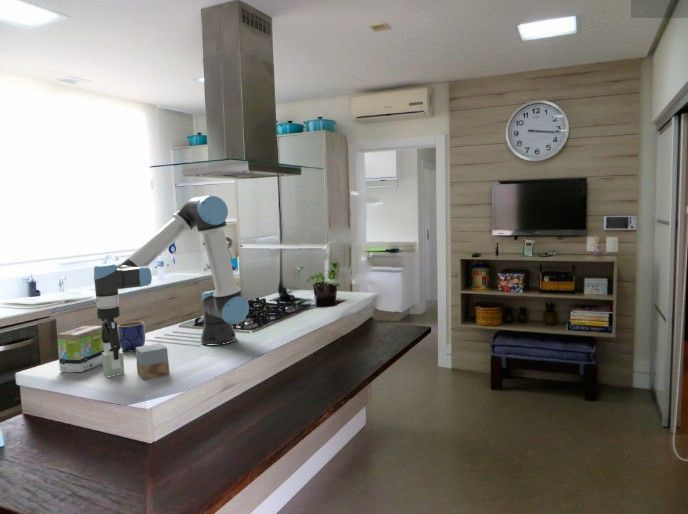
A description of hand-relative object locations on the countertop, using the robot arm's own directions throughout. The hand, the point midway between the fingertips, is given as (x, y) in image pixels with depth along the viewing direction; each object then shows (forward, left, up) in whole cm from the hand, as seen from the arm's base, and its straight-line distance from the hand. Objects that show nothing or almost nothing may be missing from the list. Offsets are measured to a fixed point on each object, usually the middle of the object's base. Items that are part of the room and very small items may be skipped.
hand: (112, 364), depth 189 cm
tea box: (+7, -18, -4) cm, 20 cm away
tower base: (-11, +11, -4) cm, 16 cm away
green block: (0, 0, -4) cm, 4 cm away
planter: (-14, -32, -4) cm, 35 cm away
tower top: (-11, +11, +1) cm, 16 cm away
